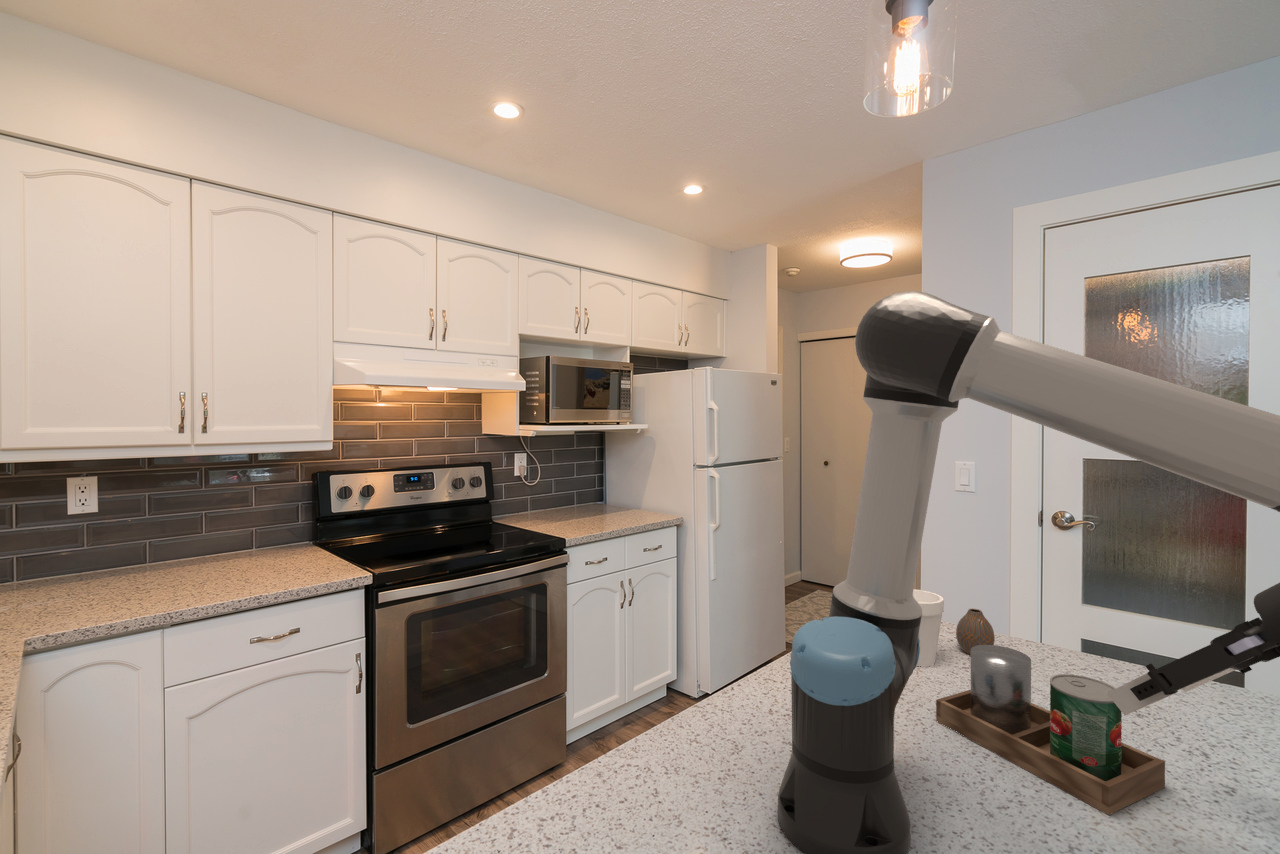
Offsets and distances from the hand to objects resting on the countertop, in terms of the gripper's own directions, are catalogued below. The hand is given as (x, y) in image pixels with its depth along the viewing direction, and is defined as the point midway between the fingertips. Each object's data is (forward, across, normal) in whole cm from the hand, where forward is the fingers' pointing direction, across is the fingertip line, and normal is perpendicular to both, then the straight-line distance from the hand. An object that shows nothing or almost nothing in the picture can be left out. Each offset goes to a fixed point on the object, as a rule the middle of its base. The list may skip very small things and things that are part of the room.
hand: (1147, 692), depth 74 cm
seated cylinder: (+23, 0, +3) cm, 24 cm away
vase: (+39, +24, +18) cm, 49 cm away
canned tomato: (+14, 0, -4) cm, 15 cm away
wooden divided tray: (+19, 0, -1) cm, 19 cm away
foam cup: (+41, +10, +20) cm, 46 cm away
